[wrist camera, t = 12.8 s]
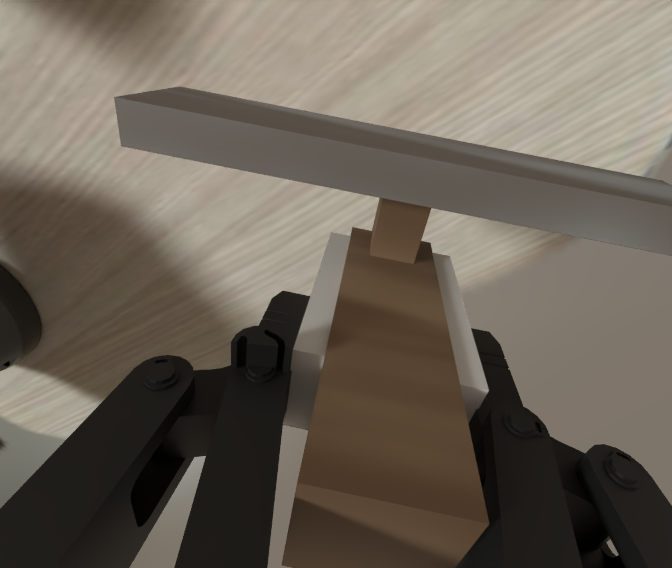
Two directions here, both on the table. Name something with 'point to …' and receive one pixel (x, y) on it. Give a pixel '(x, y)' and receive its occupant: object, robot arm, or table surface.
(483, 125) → the table surface
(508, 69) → the table surface
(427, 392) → the scraper
